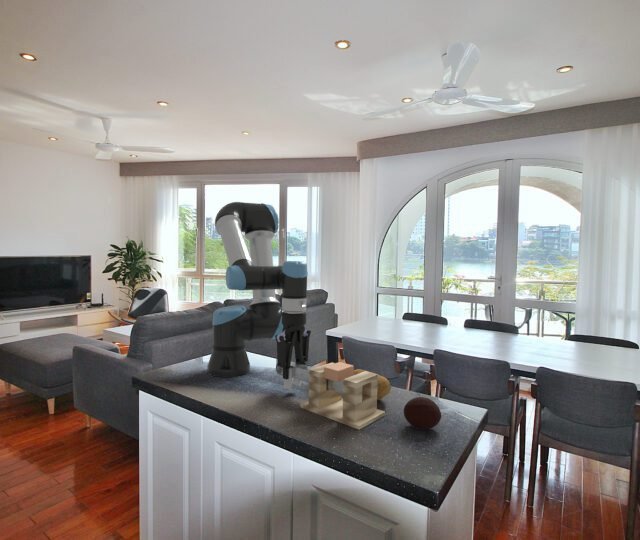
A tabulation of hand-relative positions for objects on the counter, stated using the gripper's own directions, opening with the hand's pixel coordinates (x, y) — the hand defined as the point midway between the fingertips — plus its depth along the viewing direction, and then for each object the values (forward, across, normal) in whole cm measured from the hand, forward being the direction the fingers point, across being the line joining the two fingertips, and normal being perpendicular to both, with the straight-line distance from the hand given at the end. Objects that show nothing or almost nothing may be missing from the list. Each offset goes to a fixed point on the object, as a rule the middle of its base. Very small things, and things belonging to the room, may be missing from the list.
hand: (292, 387), depth 120 cm
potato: (+2, +13, -19) cm, 24 cm away
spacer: (-7, 0, -18) cm, 19 cm away
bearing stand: (+2, 0, -19) cm, 19 cm away
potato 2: (+2, +6, -40) cm, 41 cm away
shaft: (-3, 0, -8) cm, 9 cm away
